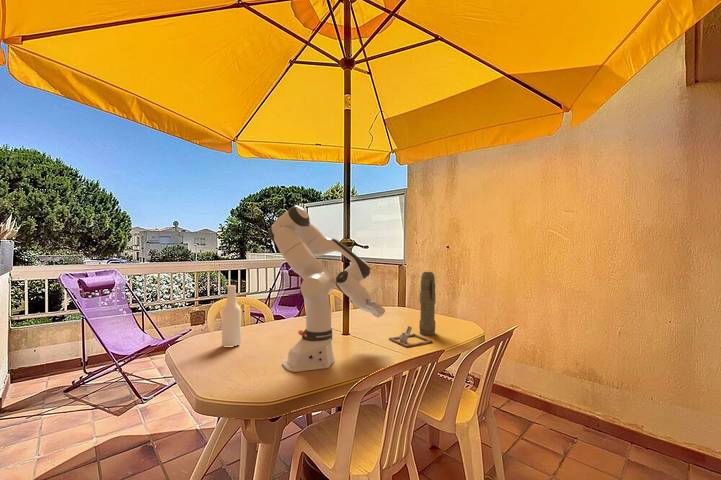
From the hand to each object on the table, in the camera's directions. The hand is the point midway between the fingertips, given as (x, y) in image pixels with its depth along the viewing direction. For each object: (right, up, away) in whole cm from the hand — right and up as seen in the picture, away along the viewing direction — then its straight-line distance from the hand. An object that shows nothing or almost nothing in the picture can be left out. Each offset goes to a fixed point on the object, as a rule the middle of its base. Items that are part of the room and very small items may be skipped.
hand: (378, 316), depth 171 cm
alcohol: (-73, -15, 0) cm, 75 cm away
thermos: (+29, -16, +25) cm, 42 cm away
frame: (+18, -16, +10) cm, 26 cm away
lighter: (+15, -16, +9) cm, 23 cm away
